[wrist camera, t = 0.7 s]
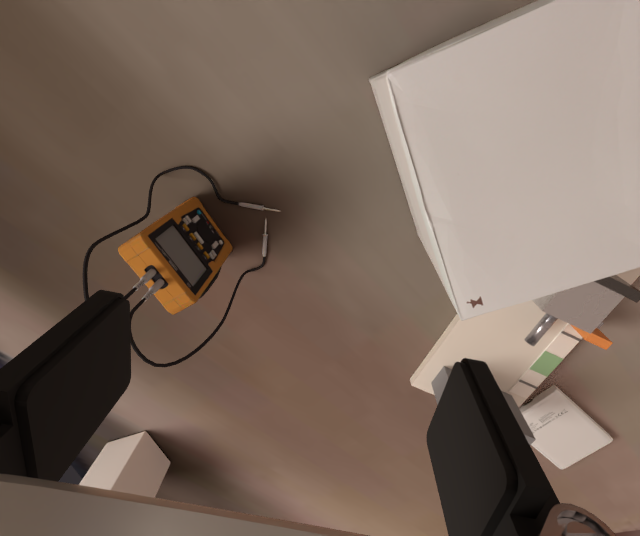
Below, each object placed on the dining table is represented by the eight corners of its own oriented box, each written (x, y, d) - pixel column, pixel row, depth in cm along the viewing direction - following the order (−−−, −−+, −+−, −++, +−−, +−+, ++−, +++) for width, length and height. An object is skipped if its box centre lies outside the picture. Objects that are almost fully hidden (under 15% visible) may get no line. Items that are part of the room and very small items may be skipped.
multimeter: (304, 244, 45) (276, 350, 27) (233, 283, 47) (164, 403, 29) (228, 127, 40) (132, 157, 22) (154, 177, 43) (13, 241, 24)
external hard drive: (555, 460, 57) (500, 415, 54) (607, 431, 54) (552, 381, 51) (561, 470, 56) (505, 424, 53) (614, 440, 53) (558, 390, 50)
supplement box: (540, 195, 41) (671, 265, 25) (416, 238, 44) (459, 327, 27) (506, 15, 35) (651, -51, 18) (364, 78, 38) (379, 69, 21)
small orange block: (576, 318, 45) (591, 332, 42) (596, 327, 45) (612, 343, 42) (570, 324, 45) (584, 339, 42) (590, 334, 45) (606, 349, 43)
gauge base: (548, 187, 41) (594, 209, 33) (656, 243, 42) (723, 276, 35) (409, 378, 52) (420, 427, 44) (500, 417, 53) (525, 470, 46)
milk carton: (146, 429, 58) (62, 572, 41) (171, 461, 61) (102, 609, 44) (107, 441, 60) (10, 584, 43) (134, 472, 62) (52, 619, 45)
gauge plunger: (555, 243, 42) (584, 264, 37) (629, 280, 43) (667, 305, 38) (495, 319, 46) (514, 347, 41) (565, 351, 47) (591, 382, 42)
